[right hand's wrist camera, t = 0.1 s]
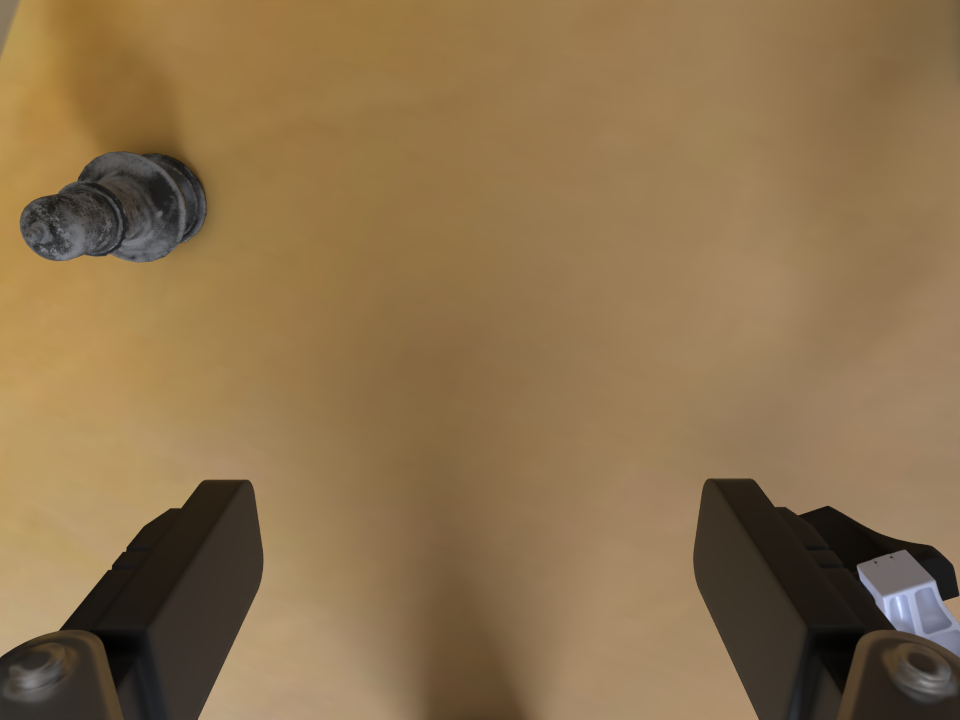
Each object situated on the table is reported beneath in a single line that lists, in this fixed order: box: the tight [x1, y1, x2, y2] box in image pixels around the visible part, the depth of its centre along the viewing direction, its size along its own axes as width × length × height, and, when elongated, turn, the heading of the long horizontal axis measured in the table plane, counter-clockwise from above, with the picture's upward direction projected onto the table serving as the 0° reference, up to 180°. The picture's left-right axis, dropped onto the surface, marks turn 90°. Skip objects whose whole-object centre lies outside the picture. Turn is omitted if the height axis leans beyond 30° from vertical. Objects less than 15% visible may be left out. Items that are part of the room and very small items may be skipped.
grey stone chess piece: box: [20, 151, 206, 262], centre depth 32 cm, size 6×6×12 cm
